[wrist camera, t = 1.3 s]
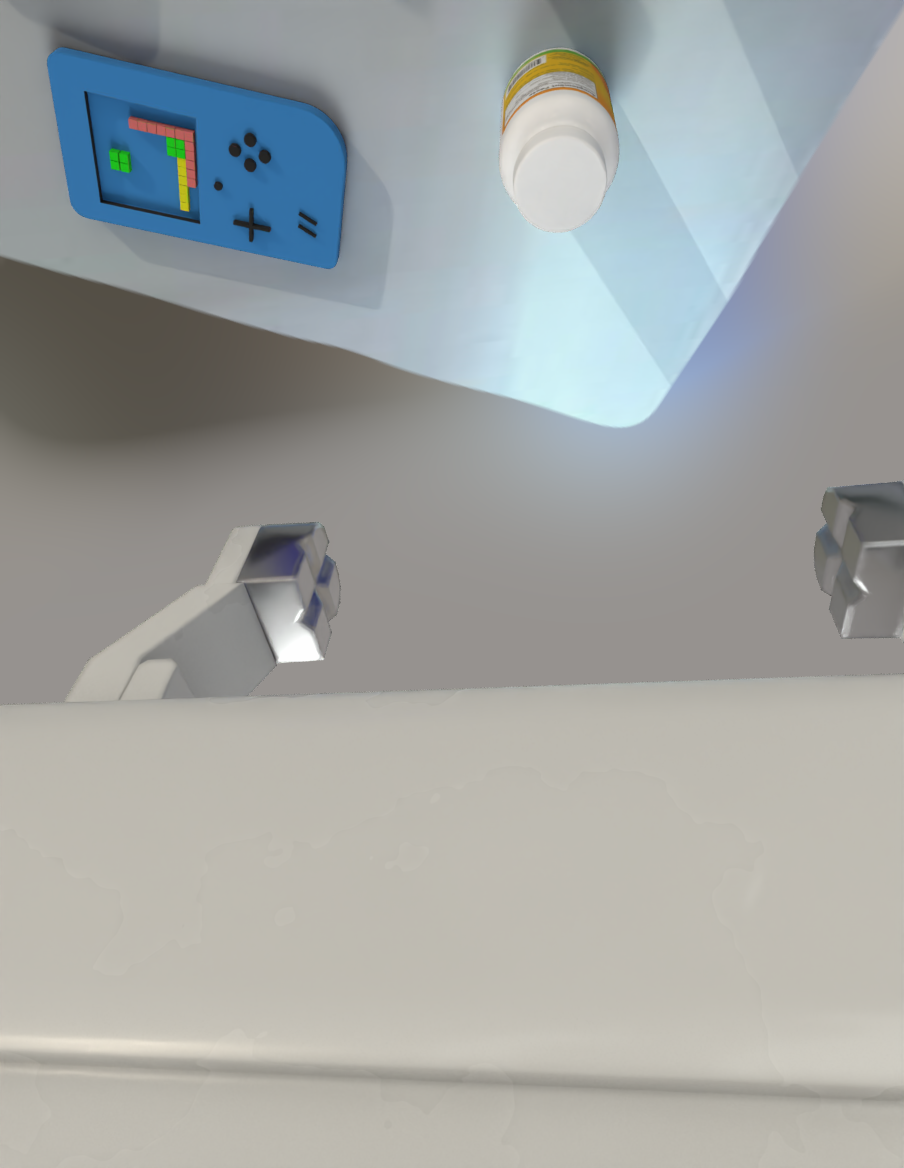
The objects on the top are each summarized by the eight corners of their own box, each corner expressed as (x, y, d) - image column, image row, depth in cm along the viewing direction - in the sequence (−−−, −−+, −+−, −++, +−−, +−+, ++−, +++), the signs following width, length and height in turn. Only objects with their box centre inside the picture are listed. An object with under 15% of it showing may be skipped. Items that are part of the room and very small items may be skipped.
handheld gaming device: (335, 273, 46) (70, 217, 45) (338, 264, 47) (77, 209, 46) (348, 121, 40) (41, 50, 39) (351, 113, 41) (50, 43, 39)
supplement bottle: (593, 170, 42) (605, 258, 36) (493, 154, 42) (487, 239, 36) (622, 54, 38) (641, 129, 32) (512, 35, 38) (509, 107, 32)
